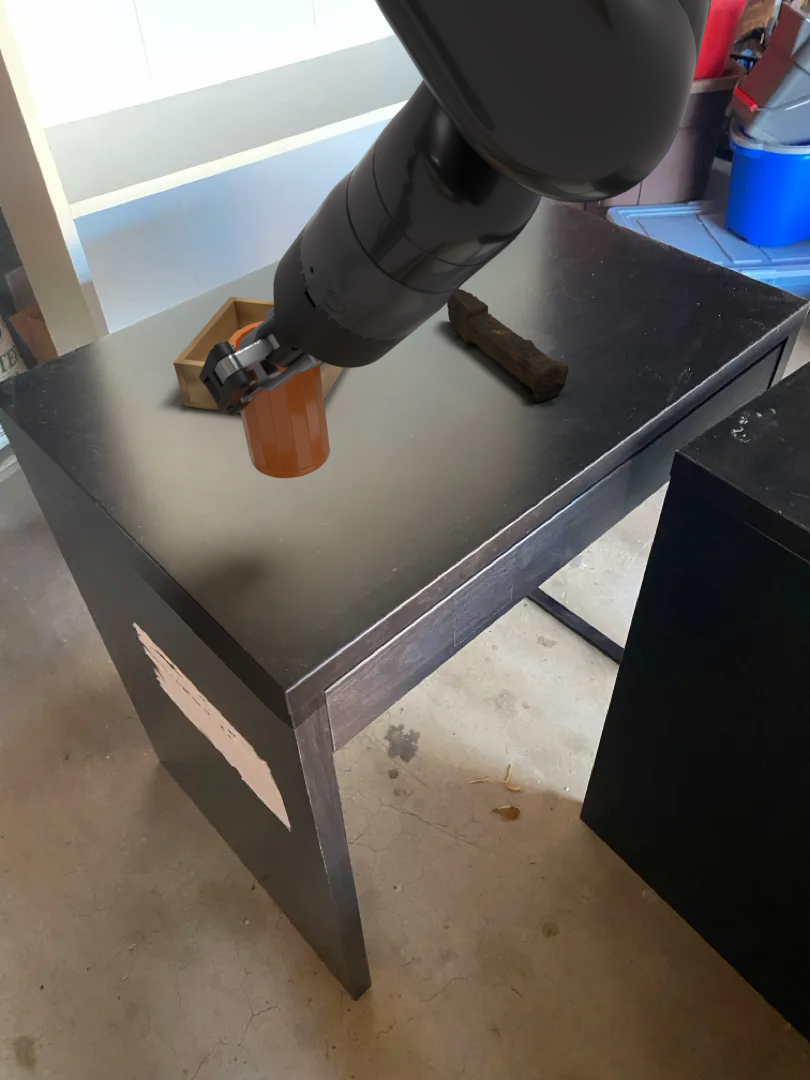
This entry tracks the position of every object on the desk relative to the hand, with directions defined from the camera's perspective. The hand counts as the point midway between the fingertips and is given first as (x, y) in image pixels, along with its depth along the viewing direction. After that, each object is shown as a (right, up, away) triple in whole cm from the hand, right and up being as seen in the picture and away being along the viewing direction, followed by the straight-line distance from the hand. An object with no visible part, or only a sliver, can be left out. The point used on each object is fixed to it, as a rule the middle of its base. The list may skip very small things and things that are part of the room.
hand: (263, 381), depth 56 cm
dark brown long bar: (+19, +8, +32) cm, 38 cm away
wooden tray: (-4, +6, +31) cm, 32 cm away
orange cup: (+1, -5, +3) cm, 6 cm away
